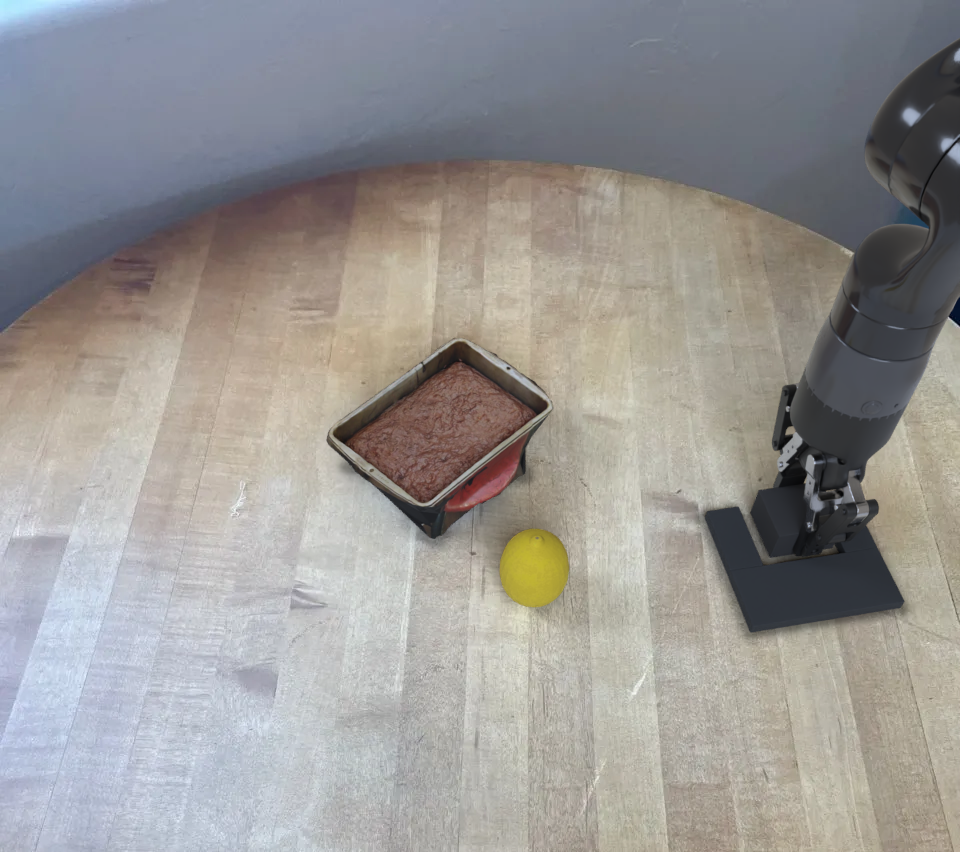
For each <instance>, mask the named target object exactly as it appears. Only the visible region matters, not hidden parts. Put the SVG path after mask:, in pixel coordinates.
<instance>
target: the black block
mask: <svg viewBox="0 0 960 852" xmlns="http://www.w3.org/2000/svg"><path fill="white" fill-rule="evenodd" d="M805 486H806V482H804V484H800V485H793V486H786V487H780V488H779V487H776V488H773V487H769V488H763V489H758V491H757V493H756V496H755V499H754V501H753V504H752V506H751V508H750V512H749V514H750V516H751V518H752V520H753V522H754V525H755V527H756V530H757V532H758V534H759V536H760V539H761V542H762V543H763V544H762V545H763V546H764V548H765V550H766V553H767V556H768V558H769V559H773V558H779V557H785V556H792V555H795V553H794V551H793V546H794V544H795V542H796V540H797V538H798V535H799V532H800V530H801V528H802V525H803V523H805V520H806V514H807V508H808V505H807V504H806V503H805V502H804V500H803V497H804V491H805ZM820 492H827V491H820V490H819V492H818V493H820ZM829 511H830V508H824V509H822V510H821V511H820V516H823V515H829ZM834 547H835V543H834V544H828V545H825V546H824V548H823V550H828V549H829V550H830V549H833V548H834ZM823 550H822V551H823Z"/></svg>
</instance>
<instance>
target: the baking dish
mask: <svg viewBox="0 0 960 852" xmlns="http://www.w3.org/2000/svg"><path fill="white" fill-rule="evenodd" d="M553 410H554V405H553V401H552V400H551V398H550V397H549V395H548V394H547V392H546V391H545V390H544V389H543V388H542V387H540V386H539V384H538V383H537V382H536V381H535V380H533V379H531V378H530V377H528V376H526V375H525V374H524V373H523V372H520V371H518V369H517V368H516V367H514V366H513V365H512V364H510V363H509V362H508V361H506V360H504V359H503V358H501V357H499V355H498V354H497V353H494V352H493V351H490V350H488V349H486V348H484V347H482V346H481V345H479V344H477V343H476V342H473V341H471V340H470V339H468V338H465V337H464V338H463V337H453V338H452V339H450V340H448V341H446V342H445V343H443V344H442V345H441V346H439V347H437V348H436V349H435V350H434V351H433V352H432V353H431V354H429V355H428V356H426V358H424V359H423V360H422V361H420V362H418V363H417V364H416V365H414V366H413V367H412V368H410V369H409V370H408V371H406V372H405V373H404V374H402V375H401V376H400V377H399V378H397V379H395V380H394V381H392V382H391V383H390V384H388V385H387V386H386V387H384V388H382V389H381V390H380V391H378V392H377V393H376V394H374V396H372V397H370V398H368V399H367V400H366V401H365V402H363V403H362V404H360V405H359V406H358V407H357V408H355V409H354V410H352V411H351V412H349V413H347V414H346V415H345V416H344V417H342V418H341V419H339V420H338V421H336V423H334V424H333V425H331V427H330V428H329V430H328V432H327V435H326V439H325V440H326V443H327V445H328V446H329V447H330V448H331V449H332V450H334V451H335V452H336V454H338V455H339V456H340V457H341V458H343V460H345V461H346V462H347V463H348V465H349V466H351V468H352V470H353V471H354V472H355V473H356V474H358V475H359V476H360V477H361V478H363V480H364V481H367V482H368V483H370V484H371V485H373V487H375V489H377V490H378V491H379V493H381V494H383V495H384V496H385V498H386V499H388V500H389V501H390V502H391V503H392V504H393V505H394V506H395V507H396V508H397V509H398V510H399V511H400V512H401V513H403V514H404V515H405V516H406V517H407V518H408V519H409V520H410V521H411V522H412V523H413V524H414V525H415V526H416V527H417V528H419V530H420V531H422V532H423V533H424V534H425V535H426V536H427V537H428V538H430V539H434V540H435V539H436V538H438V537H441V536H443V535H444V534H445V533H446V532H447V531H448V529H449V528H451V526H452V525H453V524H455V523H456V522H457V521H458V520H460V519H461V518H462V517H463V516H464V515H466V514H467V513H468V512H469V511H471V510H472V509H473V508H475V507H476V506H477V505H479V504H480V505H481V504H482V505H483V504H484V503H486V502H487V501H489V500H491V499H493V498H496V497H498V496H500V495H501V494H502V493H503V492H504V490H505V489H507V488H508V487H509V486H510V485H511V484H512V483H513V482H514V481H516V480H517V479H518V478H519V477H521V476H524V475H525V474H526V473H527V472H526V469H527V468H526V467H527V465H526V459H527V458H526V457H527V456H526V452H527V451H526V449H527V447H528V445H529V443H530V441H531V438H532V437H533V436H534V435H535V433H536V432H537V431H538V430H539V428H540V427H541V426H542V424H543V423H544V421H546V419H547V417H548V416H549V415H550V414H551V413H552V411H553Z"/></svg>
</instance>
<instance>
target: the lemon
mask: <svg viewBox="0 0 960 852" xmlns="http://www.w3.org/2000/svg"><path fill="white" fill-rule="evenodd" d="M569 574H570V561H569V555H568V552H567V549H566V547H565V545H564V543H563V542H562V541H561V539H560V538H559V537H558V536H557V535H556V534H554V533H553V532H552V531H549V530H546V529H543V528H527V529H524V530H521V531H520V532H518V533H516V534H515V535H513V536H512V538H511V539H509V540H508V542H507V544H506V545H505V547H504V549H503V552H502V554H501V556H500V560H499V579H500V583H501V586H502V588H503V590H504V592H505V593H506V595H507V596H508V597H509V599H511V600H512V601H513V602H515V603H517V604H518V605H521V606H523V607H527V608H541V607H544V606H548V605H550V604H551V603H553V602H554V601H555V600H556V599H557V598H559V597H560V595H561V594H562V593H563V591H564V589H565V587H566V585H567V583H568V580H569Z"/></svg>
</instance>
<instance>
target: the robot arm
mask: <svg viewBox="0 0 960 852" xmlns="http://www.w3.org/2000/svg"><path fill="white" fill-rule="evenodd" d="M863 150H864V151H863V155H864V156H863V157H864V163H865V166H866V167H865V168H866V169H867V171H868V173H869V174H870V176H871V177H872V178H873V179H874V181H875V182H876V183H877V184H878V185H880V186H881V187H882V188H883V190H885V191H886V192H887V193H889V194H890V195H891V196H892V197H893V198H894V199H896V200H897V201H898V202H900V204H902V205H903V206H904V207H905V208H906V209H908V211H910V213H912V214H913V215H914V216H915V217H917V218H918V219H919V220H920V221H921V222H923V223H924V224H925V225H926V227H924V226H921V225H917V224H909V223H892V224H888V225H887V224H886V225H884V226H881V227H878V228H876V229H875V230H873V231H871V232H870V233H869V234H867V235H866V236H865V237H864V238H863V239H862V240H861V242H860V243H859V244H858V246H857V247H856V249H855V251H854V253H853V254H852V257H851V259H850V261H849V263H848V266H847V269H846V271H845V273H844V276H843V278H842V281H841V283H840V286H839V289H838V291H837V294H836V296H835V299H834V301H833V304H832V307H831V309H830V312H829V314H828V316H827V318H826V319H825V321H824V322H823V325H822V326H821V328H820V330H819V331H818V333H817V336H816V338H815V341H814V344H813V346H812V349H811V352H810V354H809V356H808V359H807V361H806V364H805V367H804V370H803V372H802V375H801V378H800V380H799V382H797V383H793V384H785V385H783V386H782V388H781V393H780V397H779V403H778V408H777V413H776V418H775V423H774V427H773V434H772V439H771V448H772V450H773V451H774V452H777V451H778V452H779V455H780V456H779V457H778V458H777V460H776V466H777V470H778V472H777V475H776V477H775V480H774V483H773V484H772V488H776V487H779V488H780V487H786V486H793V485H800V484H804V483H806V486H805V491H804V497H803V500H804V502H805V503H806V504H807V505H808V508H807V514H806V520H805V523H803V525H802V528H801V530H800V532H799V535H798V538H797V540H796V542H795V544H794V546H793V551H794V553H795V554H794V555H795V557H802V558H804V557H812V556H817V555H820V554H821V553H822V552H823V548H824V546H825V545H828V544H834V543H841V542H847V541H850V540H851V539H853V538H854V537H855V536H856V535H857V534H858V533H859V532H860V531H861V530H862V529H863V528H864V527H865V526H868V524H869V523H870V522H871V521H872V520H873V519H874V518H875V517H876V516H877V515H878V514H879V511H880V505H879V502H878V500H877V499H875V498H871V499H866V497H865V493H864V492H863V491H864V490H863V488H862V485H861V483H862V482H863V481H864V479H865V476H866V468H867V464H868V461H869V460H870V459H871V458H872V457H873V456H874V455H875V454H876V453H878V452H879V451H880V450H882V449H883V448H884V446H886V445H887V443H888V442H890V439H891V438H892V436H893V434H894V432H895V430H896V428H897V426H898V424H899V422H900V420H901V418H902V417H903V415H904V412H905V411H906V409H907V407H908V405H909V403H910V402H911V399H912V397H913V395H914V393H915V391H916V389H917V388H918V386H919V384H920V382H921V381H922V378H923V376H924V374H925V372H926V369H927V367H928V364H929V361H930V358H931V354H932V352H933V349H934V346H935V344H936V342H937V340H938V338H939V336H940V334H941V332H942V330H943V328H944V327H945V324H946V322H947V320H948V319H949V316H950V314H951V312H953V310H954V307H955V306H956V303H957V301H958V300H959V298H960V37H958V38H957V39H955V40H953V41H952V42H951V43H949V44H947V45H946V46H945V47H943V48H942V49H940V50H938V51H937V52H936V53H934V54H932V55H931V56H930V57H928V58H927V59H926V60H924V61H922V62H921V63H920V64H919V65H917V66H916V67H915V68H913V69H912V71H910V72H909V73H908V74H906V76H904V77H903V78H902V79H901V80H900V81H899V82H898V84H896V86H895V87H894V88H893V89H892V90H891V91H890V92H889V93H888V95H887V96H886V98H885V99H884V100H883V101H882V103H881V104H880V106H879V108H878V109H877V111H876V113H875V115H874V117H873V119H872V121H871V123H870V125H869V128H868V130H867V134H866V138H865V142H864V149H863ZM791 427H793V429H794V433H790V434H787V430H788V429H789V428H791ZM819 490H820V491H826V492H820V493H818V492H819ZM824 508H830V511H829V515H823V516H820V511H821V510H822V509H824ZM834 545H835V544H834Z"/></svg>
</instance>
